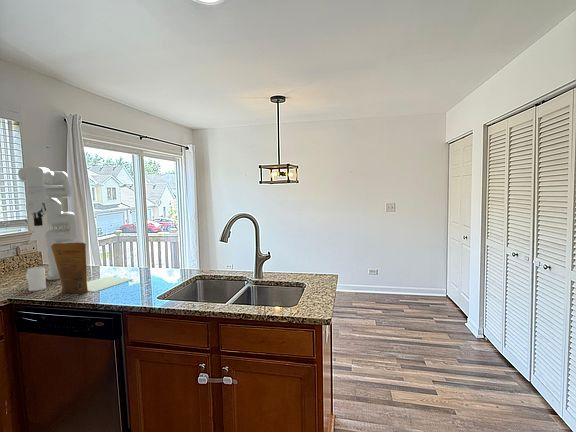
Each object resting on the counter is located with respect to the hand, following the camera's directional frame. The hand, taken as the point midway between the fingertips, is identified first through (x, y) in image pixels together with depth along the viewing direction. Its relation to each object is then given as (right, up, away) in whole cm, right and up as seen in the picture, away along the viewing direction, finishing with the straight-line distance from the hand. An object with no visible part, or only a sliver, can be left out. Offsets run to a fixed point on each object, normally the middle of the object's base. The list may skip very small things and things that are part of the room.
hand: (38, 225), depth 180 cm
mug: (-15, -37, +19) cm, 44 cm away
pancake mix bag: (+12, -37, +10) cm, 41 cm away
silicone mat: (+19, -36, +26) cm, 48 cm away
